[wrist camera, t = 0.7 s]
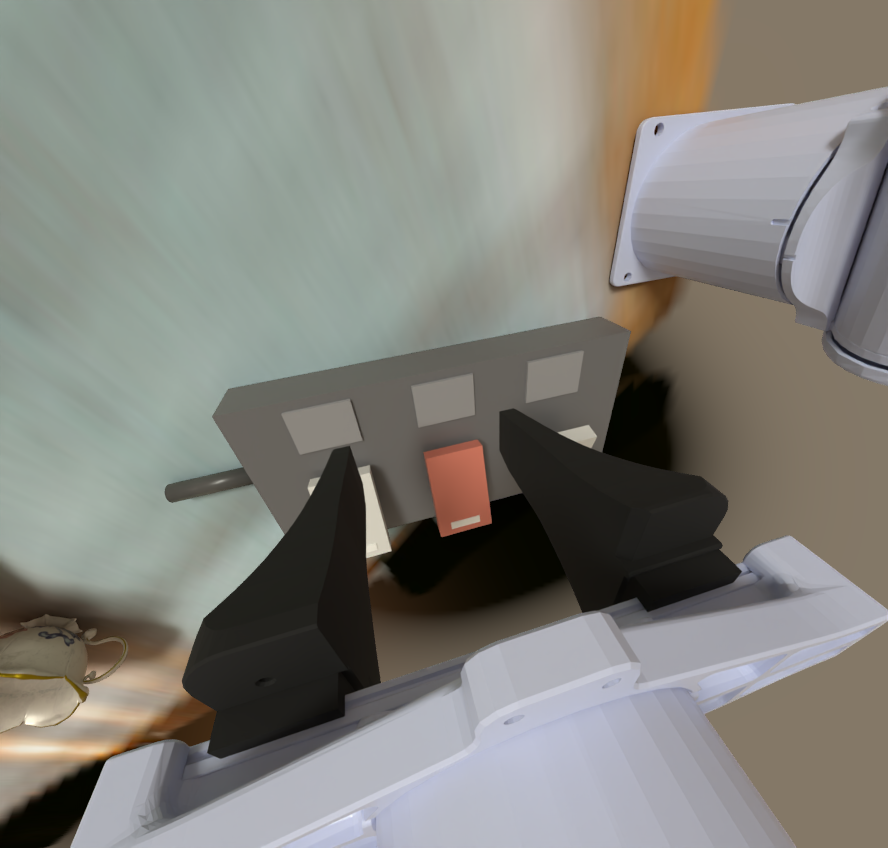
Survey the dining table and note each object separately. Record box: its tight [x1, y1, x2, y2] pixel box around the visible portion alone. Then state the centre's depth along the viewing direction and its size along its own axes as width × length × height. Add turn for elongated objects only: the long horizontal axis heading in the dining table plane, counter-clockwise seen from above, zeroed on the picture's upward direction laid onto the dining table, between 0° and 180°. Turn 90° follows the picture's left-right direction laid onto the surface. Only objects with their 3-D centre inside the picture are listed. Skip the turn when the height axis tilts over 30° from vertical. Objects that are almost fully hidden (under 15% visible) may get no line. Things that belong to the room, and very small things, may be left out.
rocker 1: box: [308, 465, 391, 558], centre depth 21 cm, size 4×6×2 cm, turn 6°
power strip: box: [165, 317, 631, 534], centre depth 23 cm, size 30×12×3 cm, turn 96°
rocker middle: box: [423, 440, 492, 537], centre depth 22 cm, size 4×6×2 cm, turn 5°
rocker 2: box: [557, 425, 597, 448], centre depth 23 cm, size 4×6×2 cm, turn 6°
